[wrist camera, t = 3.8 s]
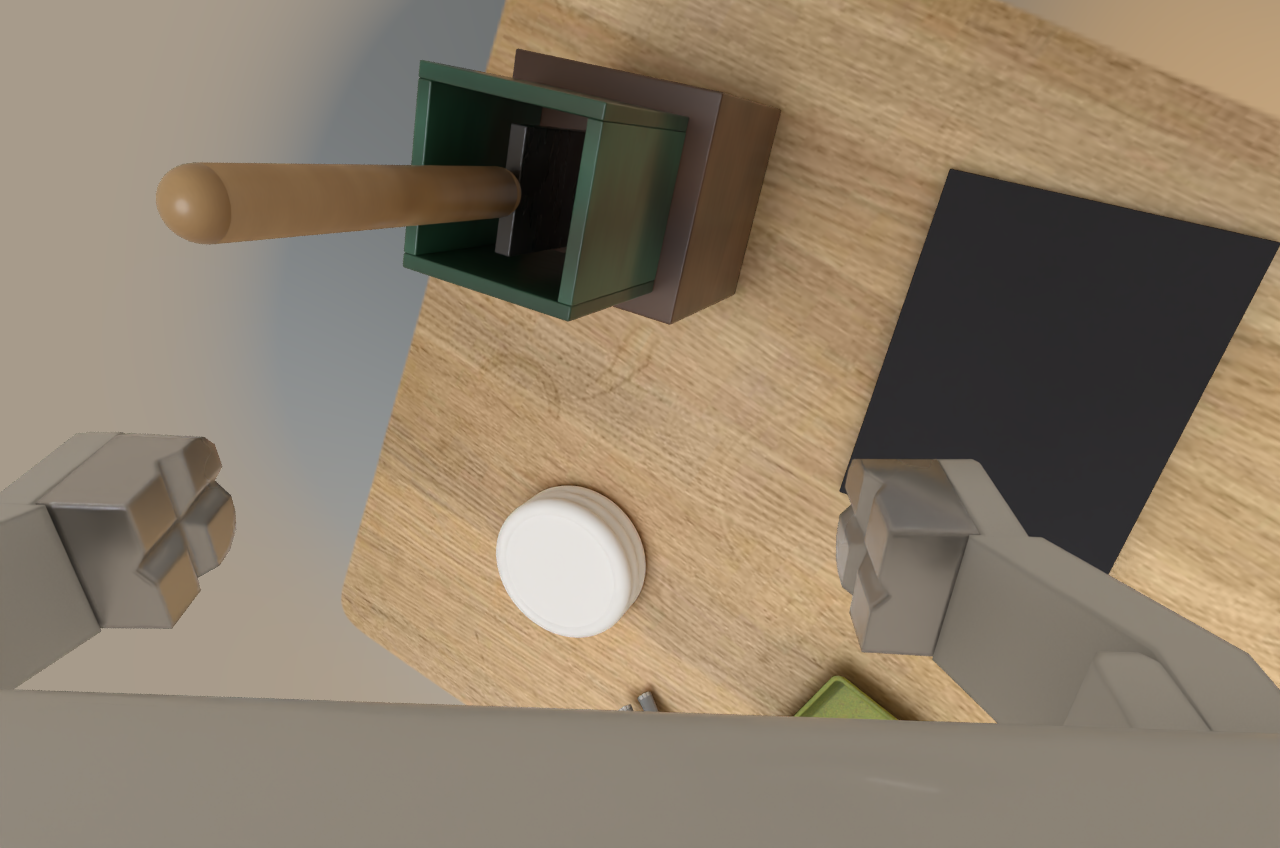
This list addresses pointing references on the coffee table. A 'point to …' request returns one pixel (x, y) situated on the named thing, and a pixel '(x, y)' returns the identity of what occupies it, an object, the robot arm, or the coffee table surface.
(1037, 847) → the robot arm
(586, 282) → the open box
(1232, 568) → the coffee table surface
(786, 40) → the coffee table surface
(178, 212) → the spatula
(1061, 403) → the mat
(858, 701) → the green square dish
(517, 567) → the white round tub
